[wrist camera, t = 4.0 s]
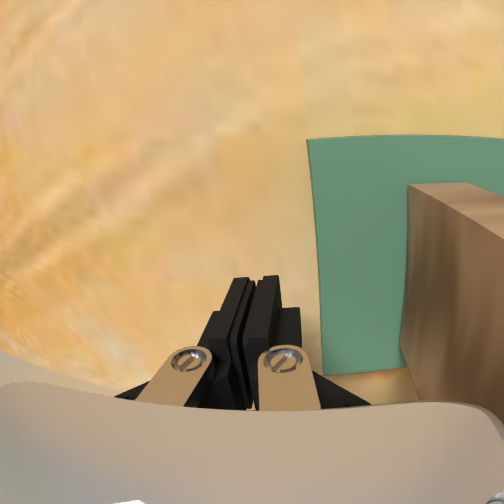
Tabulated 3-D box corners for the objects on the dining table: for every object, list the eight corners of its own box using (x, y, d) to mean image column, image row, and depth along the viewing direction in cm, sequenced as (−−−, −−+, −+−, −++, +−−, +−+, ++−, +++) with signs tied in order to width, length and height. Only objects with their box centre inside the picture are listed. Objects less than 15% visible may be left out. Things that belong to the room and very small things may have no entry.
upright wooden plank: (407, 184, 12) (588, 304, 2) (475, 182, 11) (652, 276, 2) (399, 343, 14) (451, 521, 5) (457, 334, 14) (533, 486, 5)
